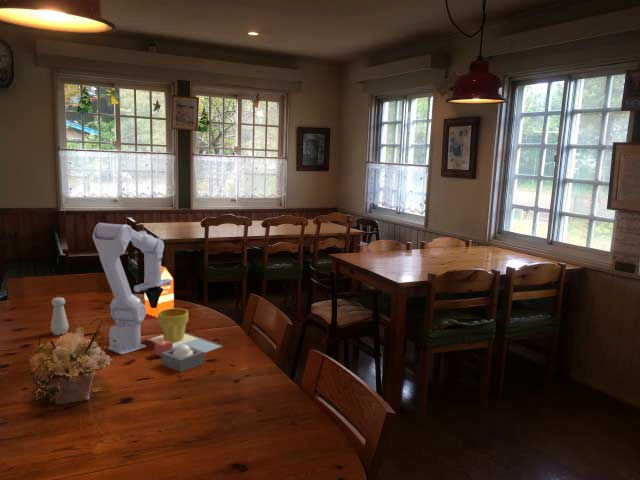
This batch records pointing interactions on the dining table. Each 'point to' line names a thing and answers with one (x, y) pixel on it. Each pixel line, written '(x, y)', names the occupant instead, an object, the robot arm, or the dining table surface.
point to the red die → (162, 347)
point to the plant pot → (173, 323)
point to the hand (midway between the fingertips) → (153, 307)
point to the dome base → (182, 360)
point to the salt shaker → (59, 317)
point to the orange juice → (162, 296)
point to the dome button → (183, 351)
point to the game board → (191, 342)
